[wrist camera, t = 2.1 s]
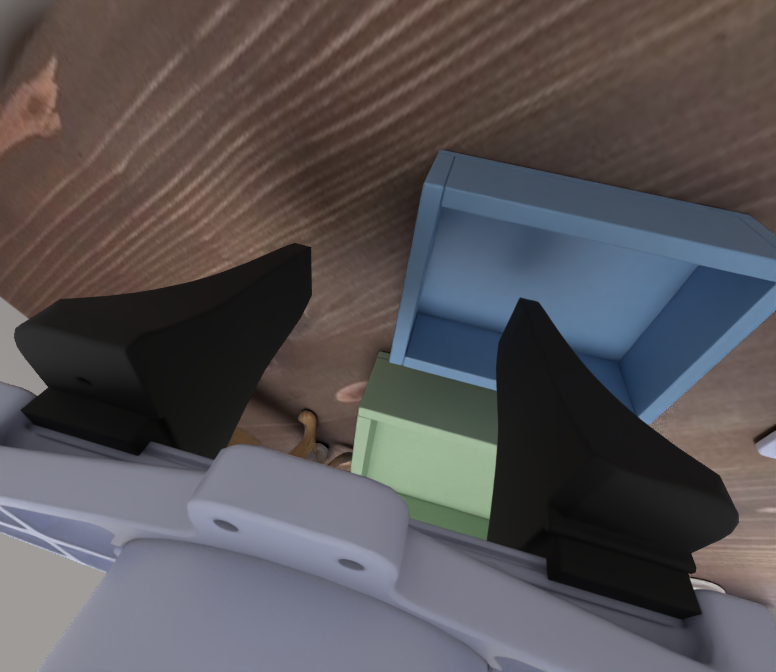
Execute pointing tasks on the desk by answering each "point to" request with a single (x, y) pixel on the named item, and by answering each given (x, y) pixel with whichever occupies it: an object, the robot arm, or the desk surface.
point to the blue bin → (579, 278)
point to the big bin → (429, 444)
